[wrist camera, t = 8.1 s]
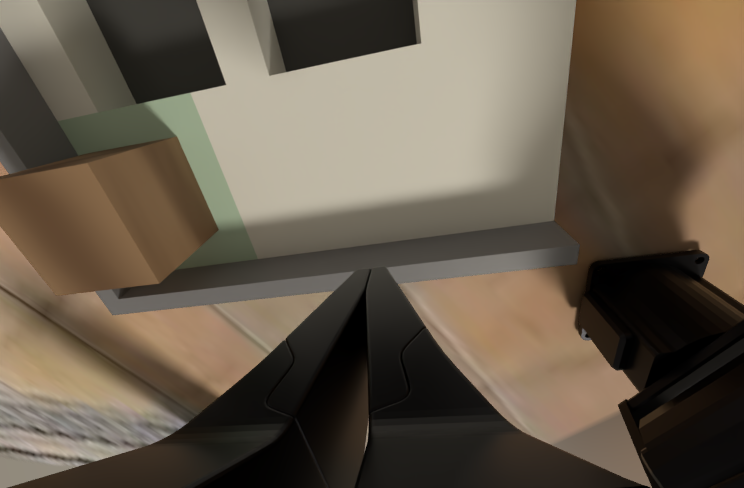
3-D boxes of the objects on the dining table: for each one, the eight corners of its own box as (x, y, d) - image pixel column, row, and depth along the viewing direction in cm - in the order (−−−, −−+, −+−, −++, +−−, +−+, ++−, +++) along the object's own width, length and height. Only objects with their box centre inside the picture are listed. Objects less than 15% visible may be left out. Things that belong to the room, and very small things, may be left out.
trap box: (559, -271, 11) (697, -557, 6) (530, 215, 19) (576, 264, 14) (-18, -80, 14) (-236, -161, 9) (173, 262, 22) (112, 315, 17)
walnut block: (177, 136, 15) (87, 162, 11) (218, 229, 17) (159, 283, 13) (86, 153, 16) (-33, 185, 11) (138, 241, 18) (56, 295, 14)
